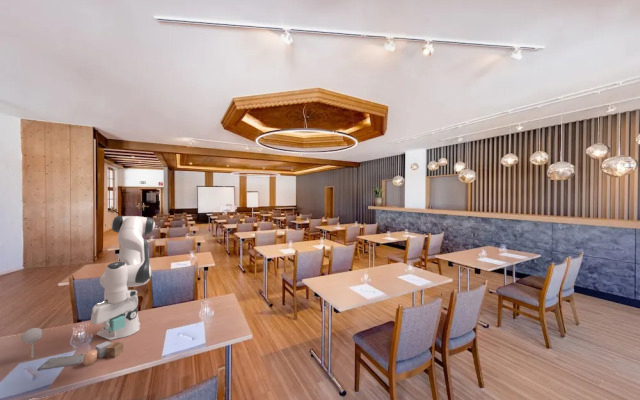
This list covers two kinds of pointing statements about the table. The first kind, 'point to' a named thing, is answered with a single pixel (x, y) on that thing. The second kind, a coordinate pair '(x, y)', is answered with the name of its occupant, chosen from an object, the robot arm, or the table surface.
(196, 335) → the table surface
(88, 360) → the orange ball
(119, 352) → the walnut cube
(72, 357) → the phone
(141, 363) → the table surface
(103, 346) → the slate cube
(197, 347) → the table surface
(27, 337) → the lollipop
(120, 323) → the teal cube
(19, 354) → the table surface
